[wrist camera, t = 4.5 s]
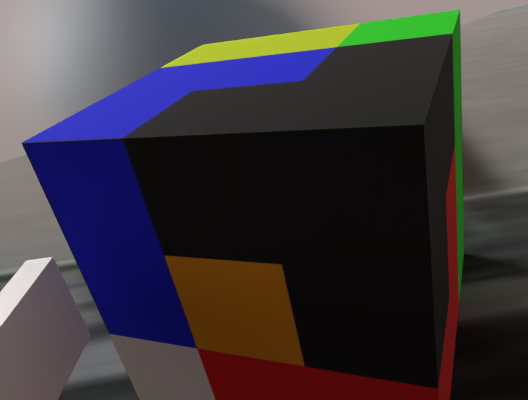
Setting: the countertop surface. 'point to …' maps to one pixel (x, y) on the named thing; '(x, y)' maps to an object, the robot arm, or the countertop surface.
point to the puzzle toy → (275, 214)
